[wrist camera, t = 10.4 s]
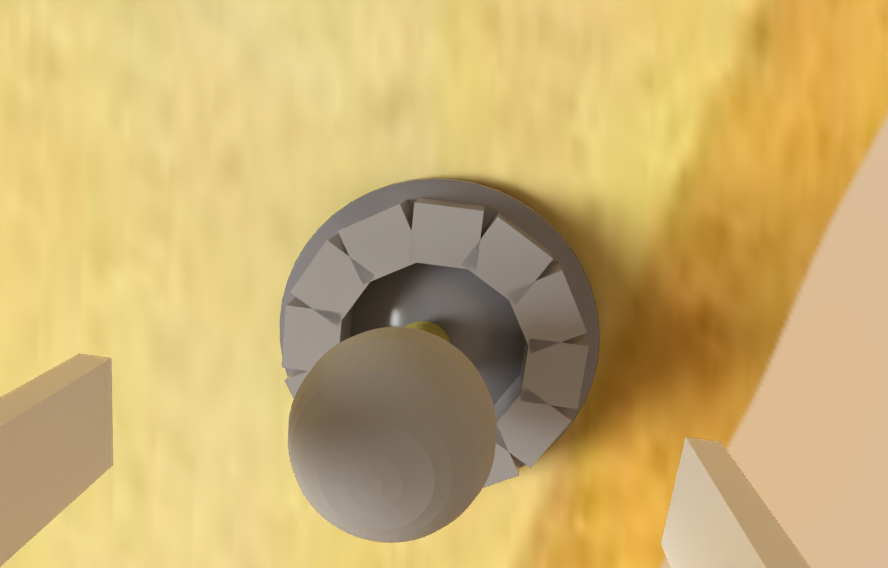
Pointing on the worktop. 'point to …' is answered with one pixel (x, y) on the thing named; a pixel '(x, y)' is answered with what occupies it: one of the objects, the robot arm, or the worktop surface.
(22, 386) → the robot arm
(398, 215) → the socket
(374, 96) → the worktop surface
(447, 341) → the light bulb
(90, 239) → the worktop surface
